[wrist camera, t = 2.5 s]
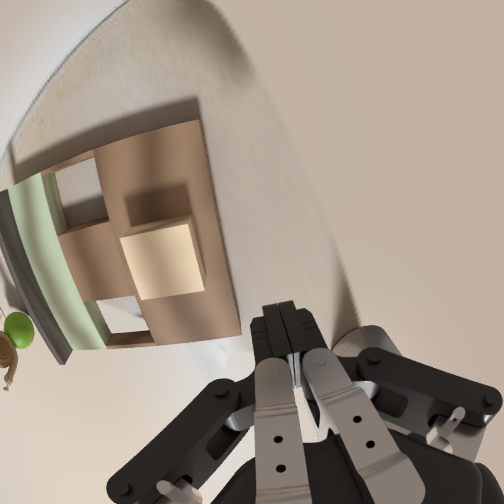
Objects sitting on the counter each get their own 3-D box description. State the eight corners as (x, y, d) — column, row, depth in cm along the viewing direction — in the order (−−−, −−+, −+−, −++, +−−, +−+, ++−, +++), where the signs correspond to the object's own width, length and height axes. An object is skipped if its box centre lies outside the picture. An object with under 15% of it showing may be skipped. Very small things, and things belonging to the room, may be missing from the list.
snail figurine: (31, 341, 30) (-1, 391, 19) (10, 308, 28) (-30, 355, 17) (49, 336, 30) (14, 392, 19) (26, 301, 28) (-17, 353, 17)
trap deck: (201, 121, 22) (194, 115, 17) (240, 321, 31) (243, 353, 26) (15, 187, 22) (-14, 198, 17) (74, 338, 31) (59, 364, 25)
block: (192, 213, 23) (187, 223, 20) (206, 274, 26) (204, 290, 23) (130, 227, 23) (119, 238, 20) (148, 284, 25) (141, 300, 23)
